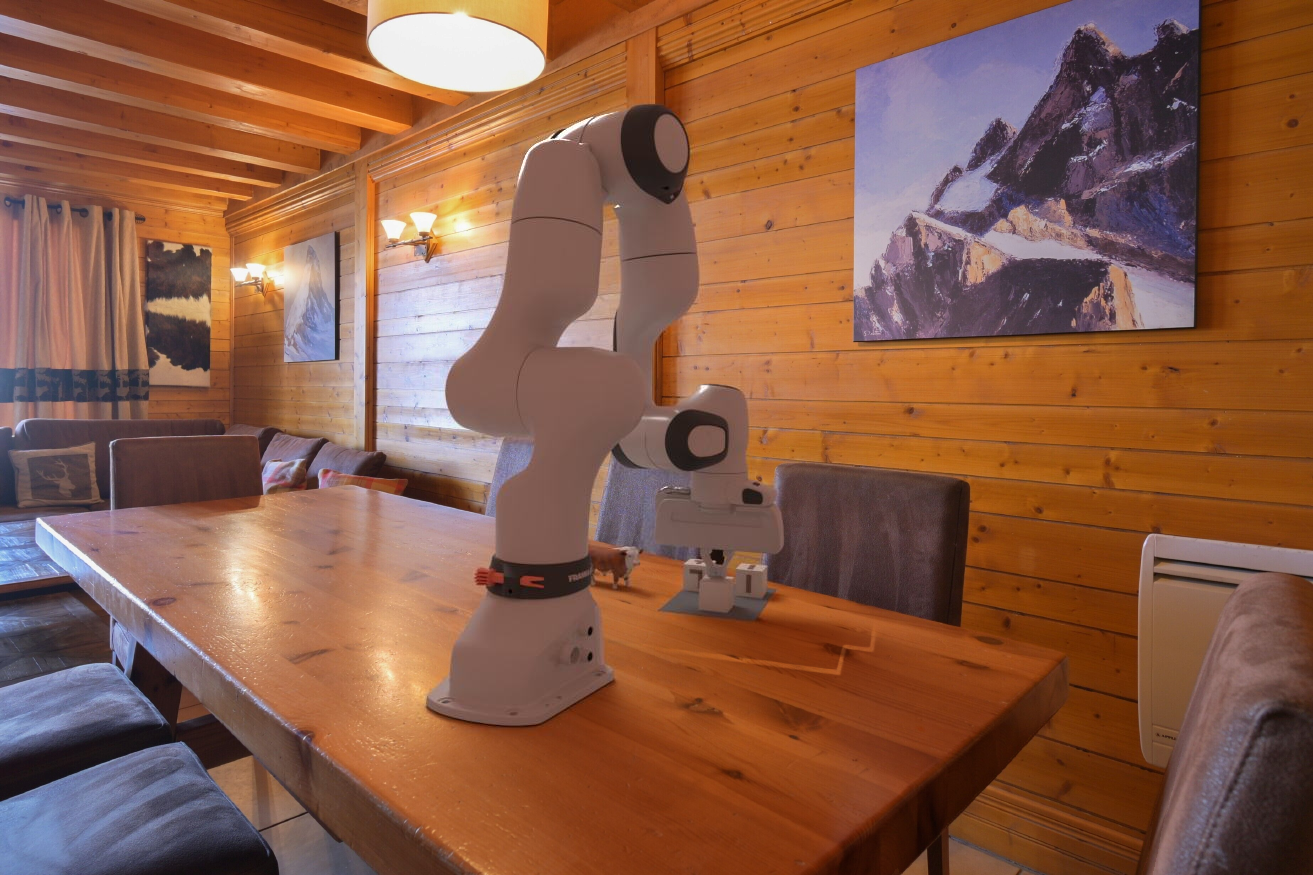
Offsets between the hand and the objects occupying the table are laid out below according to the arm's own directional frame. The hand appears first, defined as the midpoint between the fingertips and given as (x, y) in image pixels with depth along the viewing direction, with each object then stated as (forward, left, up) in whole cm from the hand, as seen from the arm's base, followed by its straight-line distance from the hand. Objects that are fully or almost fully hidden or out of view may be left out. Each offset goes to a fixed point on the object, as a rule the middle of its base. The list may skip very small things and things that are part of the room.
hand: (717, 576), depth 115 cm
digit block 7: (+10, +5, -5) cm, 12 cm away
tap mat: (+5, 0, -5) cm, 7 cm away
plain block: (0, 0, -5) cm, 5 cm away
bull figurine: (+6, +20, -6) cm, 21 cm away
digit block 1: (+10, -4, -5) cm, 11 cm away
